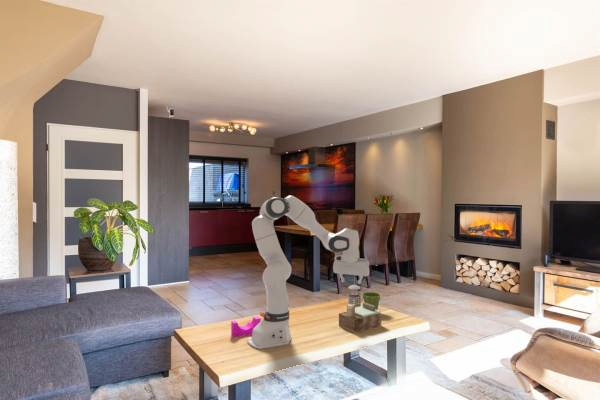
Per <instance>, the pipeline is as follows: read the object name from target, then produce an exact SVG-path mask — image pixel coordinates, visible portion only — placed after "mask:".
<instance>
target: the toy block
mask: <svg viewBox="0 0 600 400" xmlns="http://www.w3.org/2000/svg"><path fill="white" fill-rule="evenodd" d="M261 318H262V317H261ZM261 318H260V316H253V317H252V321H251V320H250V321H248V322H247V323H246V324H245V325H239V323H238V321H236V320H231V324H230V327H231V328H230V329H231V330H230V331H231V332H230V333H231V335H230V336H231V337H233V338H238V336H239V337H244V336H248V335H252V331H253V329H254V327H256V326H257V325H258V324H259V323H260V322H261V321H262V319H261Z"/></svg>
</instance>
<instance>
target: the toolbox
mask: <svg viewBox="0 0 600 400" xmlns="http://www.w3.org/2000/svg"><path fill="white" fill-rule="evenodd" d="M380 326H382V313H379V314H375V315H371V316H367V317H361V316H358V315H356V314H355V316H354V317H348V316H347V311H345V312H341V313H340V312H339V313H338V327H340V328H342V329H345V330H347V331H349V332H352V333H354V334H356V333H359V332H363V331H367V330H370V329H374V328H378V327H380Z"/></svg>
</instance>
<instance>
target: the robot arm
mask: <svg viewBox="0 0 600 400" xmlns="http://www.w3.org/2000/svg"><path fill="white" fill-rule="evenodd" d="M284 216H287V217H288V218H289V219H291V220H292V221H293V222H294V223H295V224H297V225H298V226H300V227H302V228H303V229H307V230H308V231H310V232H311V233H312V234H314V236H316V237H317V239H319V240H320V242H321V244H322V246H323V248H325V249H326V250H327V251H330V252H332V253H341V252H342V253H341V254H339V255H338V254H337V255H336V256H334V262H333V266H332V271H333V274H338V275H339V278H340V280H341V283H345V281H346V278H344V276H343V275H350V276H354V275H355V276H359V277H358V278H359V279H358V280H357V284H358V285H361V284H362V279H363V278H364V277H368V276H369V275H370V261H369V260H368V259H367V258H360V251H359V250H360V249H359V246H360V237H359V236H360V235H359V232H358V230H357V229H355V228H352V227H344V228H343V229H342V230H340V231H339V232H337V233H335V232H332V231H328V230H327V229H325V227H324V226H323V225H321V224H320V222H318V221H317V219H316V215H315V213H314V211H313V210H312V209H311V208H310V207H309V205H307V204H306V203H304V202H303V201H302V200H300V199H299V198H298V197H296V196H294V195H288V196H286V197H284V198H282V197H277V196H276V197H271V198H269V199H266V200H265V201H264V202H263V203H262V204H261V205H260V208H259V212H258V216H255V218H253V220H252V221H251V227H252V228H251V229H252V234H253V237H254V241H255V244H256V247H257V249H258V254H259V255H260V256H261V257H262V259H263V261H264V262H265V264H266V265H267V266H266V268H265V269H264V270H263V273H262V277H261V278H262V281H263V284H264V288H265V293H266V310H265V312H263V311H261V312H259V317H261V318H262V319H261V322H260V323H259V324H258V325H257V326H256V327H254V329H253V331H252V334H251V336H250V337H248V338H247V340H246V341H247V344H248V345H250V346H251V347H253V348H255V349H259V350H262V349H268V348H275V347H281V346H287V345H289V344H290V341H291V340H292V334H291V329H290V321H289V320H290V310H289V293H288V290H287V280H288V279H289V278H290V276H291V274H292V270H293V269H292V266H291V264H290V262H289V261H288V259H287V257H286V255H285V253H284V251H283V249H282V248H281V245H280V242H279V239H278V236H277V233H276V231H275V230H276V229H275V227H274V226H275V225H274V223H275V221H276V220H278V219H280V218H282V217H284ZM357 284H356V285H357Z"/></svg>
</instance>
